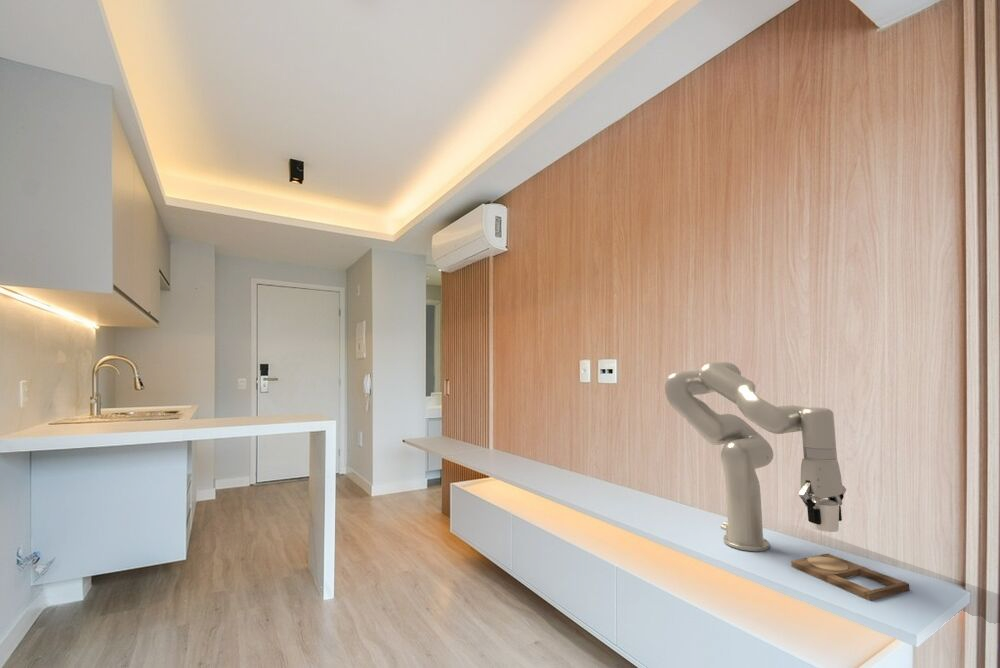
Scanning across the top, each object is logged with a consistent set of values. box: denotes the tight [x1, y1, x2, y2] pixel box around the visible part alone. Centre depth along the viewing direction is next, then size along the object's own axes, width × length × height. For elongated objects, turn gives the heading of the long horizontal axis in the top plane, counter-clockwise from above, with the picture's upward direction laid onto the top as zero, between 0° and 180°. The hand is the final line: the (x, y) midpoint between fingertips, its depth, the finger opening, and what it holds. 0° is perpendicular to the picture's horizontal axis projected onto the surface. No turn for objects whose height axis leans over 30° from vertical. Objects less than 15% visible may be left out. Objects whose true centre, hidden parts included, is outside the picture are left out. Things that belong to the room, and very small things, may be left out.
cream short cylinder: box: [812, 498, 840, 533], centre depth 126 cm, size 7×7×7 cm
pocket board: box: [790, 553, 911, 601], centre depth 121 cm, size 20×14×2 cm
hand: (825, 520), depth 126 cm, fingers closed on cream short cylinder, 6 cm apart
